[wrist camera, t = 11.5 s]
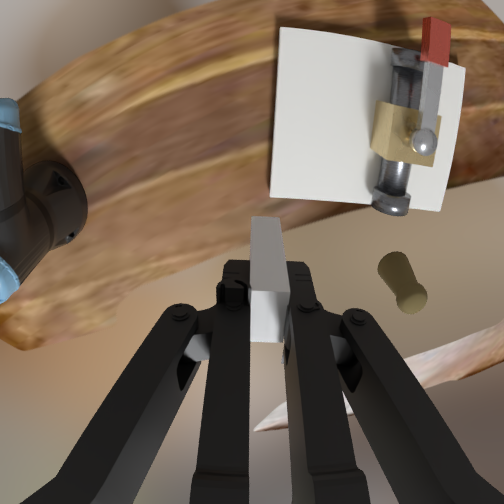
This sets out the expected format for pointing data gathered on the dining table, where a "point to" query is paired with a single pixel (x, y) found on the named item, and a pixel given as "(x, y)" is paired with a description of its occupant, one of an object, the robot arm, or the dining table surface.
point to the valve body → (398, 133)
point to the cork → (402, 282)
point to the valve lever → (431, 83)
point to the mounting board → (346, 120)
